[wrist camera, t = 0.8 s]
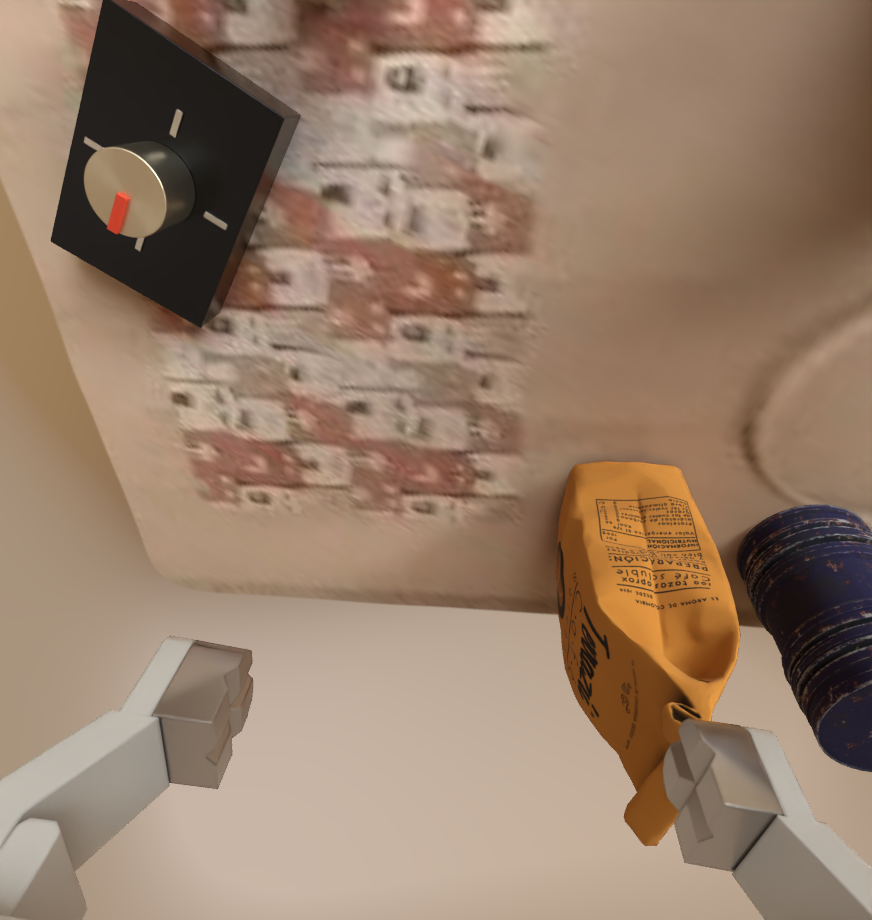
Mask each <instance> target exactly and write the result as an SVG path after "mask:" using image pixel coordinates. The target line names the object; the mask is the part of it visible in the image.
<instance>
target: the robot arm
mask: <svg viewBox="0 0 872 920" xmlns="http://www.w3.org/2000/svg"><path fill="white" fill-rule="evenodd" d="M251 665H252V651H251V650H247V649H242V648H236V647H231V646H225V645H220V644H215V643H209V642H204V641H199V640H193V639H187V638H180V637H175V636H169V637H168V638H167V639H166V640H165V641H163V642H162V644H161V645H160V647H159V648H158V650H157V652H156V653H155V655H154V656H153V658H152V659H151V661H150V663H149V664H148V666H147V667H146V669H145V671H144V672H143V674H142V675H141V677H140V678H139V680H138V682H137V683H136V685H135V686H134V688H133V690H132V691H131V693H130V694H129V696H128V697H127V699H126V701H125V702H124V704H123V705H122V707H121V708H120V710H119V711H115V710H110V711H108V712H107V713H105V714H104V715H102V716H100V717H99V718H97V719H96V720H94V721H92V722H91V723H89V724H88V725H86V726H84V727H83V728H81V729H80V730H78V731H76V732H75V733H73V734H72V735H70V736H69V737H67V738H65V739H64V740H62V741H61V742H59V743H57V744H56V745H54V746H53V747H51V748H50V749H48V750H46V751H45V752H43V753H42V754H40V755H39V756H37V757H35V758H34V759H32V760H30V761H29V762H27V763H26V764H24V765H23V766H21V767H19V768H18V769H16V770H15V771H13V772H11V773H10V774H8V775H7V776H5V777H3V778H2V779H0V920H82V919H83V917H84V915H85V913H86V911H87V907H86V903H85V899H84V896H83V894H82V890H81V888H80V885H79V882H78V879H77V876H76V873H75V871H76V870H77V869H78V868H79V867H80V866H82V864H84V863H85V862H86V861H87V860H88V859H89V858H90V857H91V856H93V855H94V854H95V853H96V852H97V851H98V850H99V849H100V848H101V847H103V846H104V845H105V844H106V843H107V842H108V841H109V840H110V839H111V838H113V837H114V836H115V835H116V834H117V833H118V832H119V831H120V830H121V829H122V828H124V827H125V826H126V825H127V824H128V823H129V822H130V821H131V820H132V819H134V818H135V817H136V816H137V815H138V814H139V813H140V812H141V811H142V810H144V809H145V808H146V807H147V806H148V805H149V804H150V803H151V802H152V801H153V800H155V799H156V798H157V797H158V796H159V795H160V794H161V793H162V792H163V791H164V790H166V789H167V788H168V787H169V783H175V784H183V785H190V786H199V787H207V788H214V789H218V787H219V785H220V782H221V780H222V778H223V775H224V773H225V770H226V768H227V766H228V763H229V761H230V758H231V756H232V738H233V737H234V736H236V735H237V734H238V733H239V732H241V731H242V729H243V726H244V723H245V721H246V718H247V716H248V711H249V708H250V704H251V701H252V693H253V678H252V677H251V676H250V675H249V674H248V672H249V670H250V667H251ZM678 731H679V735H680V738H681V739H680V740H678V741H676V742H674V743H672V744H670V746H669V748H668V750H667V752H666V754H665V756H664V764H663V780H664V786H665V790H666V794H667V798H668V799H669V801H670V802H671V803H672V804H673V805H674V806H675V808H676V809H677V810H678V811H679V813H678V816H677V818H676V820H675V822H674V825H675V828H676V833H677V836H678V840H679V844H680V847H681V851H682V855H683V858H684V862H685V863H689V864H694V865H699V866H705V867H710V868H716V869H721V870H726V871H732V872H733V873H732V875H733V876H734V878H735V879H736V881H737V882H738V883H739V885H740V886H741V887H742V889H743V890H744V892H745V893H746V894H747V896H748V897H749V898H750V900H751V901H752V903H753V904H754V905H755V907H756V908H757V910H758V911H759V912H760V914H761V915H762V916H763V918H764V919H765V920H872V868H871V867H870V866H869V865H868V864H867V863H866V862H865V861H864V860H863V859H862V858H861V857H860V856H859V855H858V854H857V853H856V852H855V851H854V850H853V849H852V848H851V847H850V846H849V845H848V844H846V843H845V842H844V841H843V840H842V839H841V838H840V837H839V836H838V835H837V834H836V833H835V832H834V831H833V830H832V829H831V828H830V827H829V826H828V825H827V824H826V823H823V822H818V821H816V818H815V816H814V814H813V812H812V810H811V808H810V806H809V804H808V802H807V800H806V797H805V795H804V793H803V791H802V789H801V787H800V785H799V783H798V781H797V779H796V776H795V774H794V772H793V770H792V768H791V766H790V764H789V762H788V759H787V757H786V755H785V753H784V751H783V749H782V747H781V745H780V743H779V740H778V738H777V737H776V736H775V735H774V734H773V733H772V732H771V731H768V730H761V729H755V728H749V727H741V726H739V725H733V724H726V723H719V722H712V721H705V720H698V719H691V718H688V719H686V720H684V721H683V722H682V724H681V726H680V727H679V729H678Z"/></svg>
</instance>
